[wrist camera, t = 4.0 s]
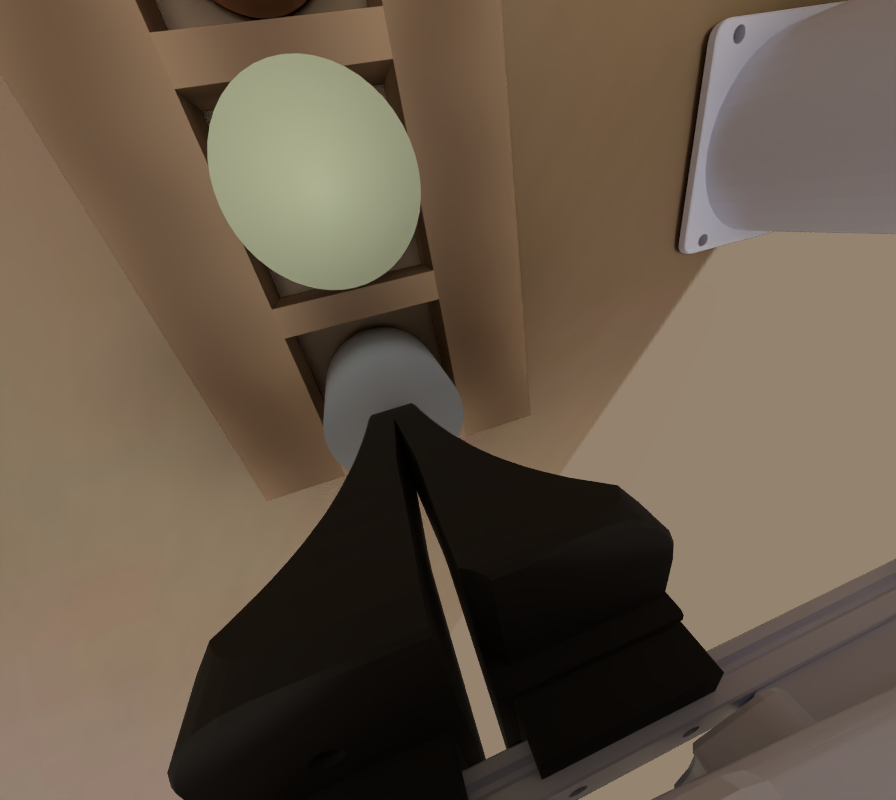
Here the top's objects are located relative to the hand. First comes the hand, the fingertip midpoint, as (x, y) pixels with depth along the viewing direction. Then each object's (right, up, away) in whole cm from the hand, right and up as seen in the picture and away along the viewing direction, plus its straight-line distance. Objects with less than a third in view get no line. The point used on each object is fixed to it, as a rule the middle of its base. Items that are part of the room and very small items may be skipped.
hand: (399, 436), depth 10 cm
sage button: (-2, +7, 0) cm, 8 cm away
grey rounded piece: (-1, +2, +4) cm, 4 cm away
